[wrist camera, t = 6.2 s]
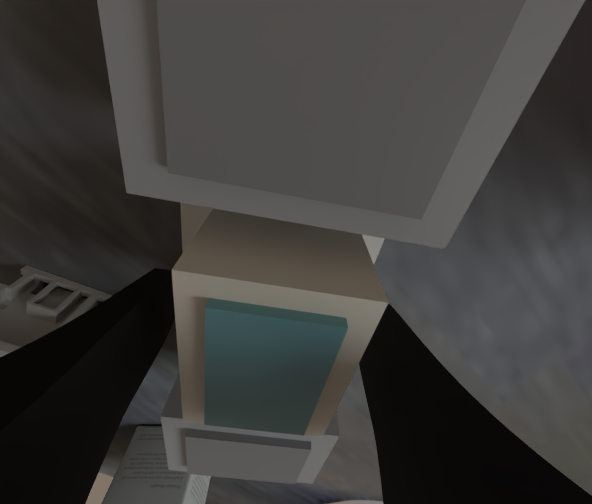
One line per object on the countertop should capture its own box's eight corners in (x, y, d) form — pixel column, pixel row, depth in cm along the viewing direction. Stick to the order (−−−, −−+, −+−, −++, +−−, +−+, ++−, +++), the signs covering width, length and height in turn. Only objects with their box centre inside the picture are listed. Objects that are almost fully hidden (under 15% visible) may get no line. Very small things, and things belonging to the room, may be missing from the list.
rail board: (463, 8, 9) (764, -123, 3) (321, 372, 20) (329, 496, 14) (184, -63, 8) (-101, -410, 2) (193, 355, 19) (145, 479, 13)
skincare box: (157, 454, 27) (114, 565, 21) (137, 423, 24) (79, 543, 18) (217, 454, 27) (192, 566, 21) (205, 423, 24) (171, 545, 18)
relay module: (347, 198, 11) (392, 313, 6) (315, 307, 14) (323, 446, 9) (234, 177, 10) (165, 278, 5) (226, 294, 14) (179, 432, 8)
